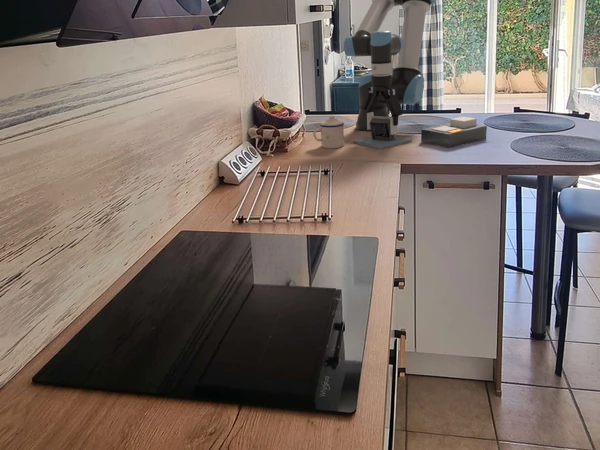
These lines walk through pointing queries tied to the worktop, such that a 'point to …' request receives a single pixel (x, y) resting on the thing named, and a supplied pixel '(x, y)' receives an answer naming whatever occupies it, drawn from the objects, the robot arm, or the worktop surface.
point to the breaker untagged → (463, 122)
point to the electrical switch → (381, 128)
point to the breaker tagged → (444, 129)
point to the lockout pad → (381, 142)
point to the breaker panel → (453, 135)
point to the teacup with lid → (331, 133)
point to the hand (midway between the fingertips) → (381, 131)
